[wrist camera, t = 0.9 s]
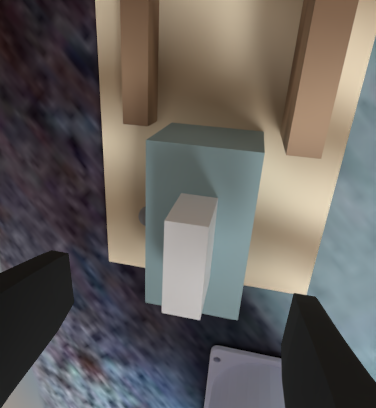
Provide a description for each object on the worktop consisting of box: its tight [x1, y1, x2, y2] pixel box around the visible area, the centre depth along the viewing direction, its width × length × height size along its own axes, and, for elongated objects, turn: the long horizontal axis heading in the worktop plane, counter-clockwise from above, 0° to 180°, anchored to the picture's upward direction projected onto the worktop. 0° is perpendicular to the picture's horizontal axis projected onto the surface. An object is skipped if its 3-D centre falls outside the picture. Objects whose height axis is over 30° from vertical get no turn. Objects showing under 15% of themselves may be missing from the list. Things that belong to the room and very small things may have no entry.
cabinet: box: [138, 123, 265, 320], centre depth 14 cm, size 8×5×6 cm, turn 177°
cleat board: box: [95, 0, 376, 295], centre depth 14 cm, size 20×12×5 cm, turn 177°
